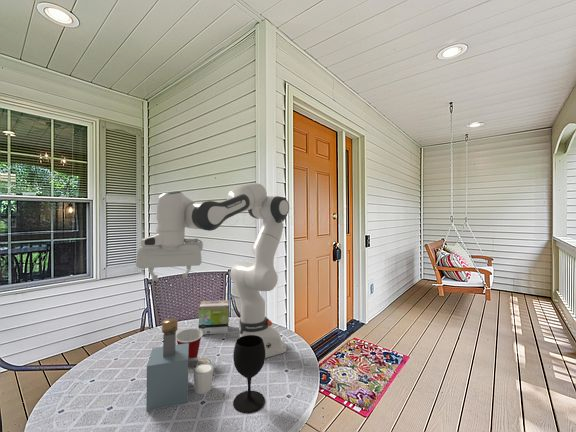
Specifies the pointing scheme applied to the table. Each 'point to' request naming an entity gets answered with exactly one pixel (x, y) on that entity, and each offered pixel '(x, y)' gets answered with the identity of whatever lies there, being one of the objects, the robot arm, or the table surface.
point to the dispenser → (168, 374)
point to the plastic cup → (190, 340)
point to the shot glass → (203, 378)
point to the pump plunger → (169, 325)
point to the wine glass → (249, 371)
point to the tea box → (214, 317)
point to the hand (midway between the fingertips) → (170, 279)
